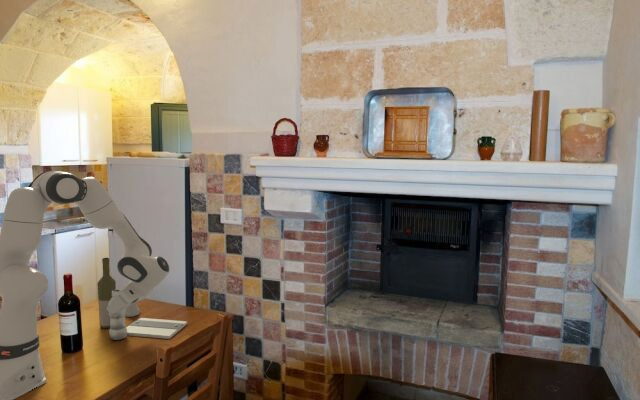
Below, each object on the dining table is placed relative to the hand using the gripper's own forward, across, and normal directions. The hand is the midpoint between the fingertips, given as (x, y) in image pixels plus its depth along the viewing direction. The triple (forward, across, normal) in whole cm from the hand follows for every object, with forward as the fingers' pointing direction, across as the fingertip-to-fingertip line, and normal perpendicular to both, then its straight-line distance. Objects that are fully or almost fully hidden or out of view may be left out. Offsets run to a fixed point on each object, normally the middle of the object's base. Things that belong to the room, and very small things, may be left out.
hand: (116, 311), depth 179 cm
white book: (+1, -12, +15) cm, 19 cm away
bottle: (+16, -11, 0) cm, 20 cm away
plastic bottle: (+8, 0, +9) cm, 12 cm away
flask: (+15, -26, +2) cm, 30 cm away
